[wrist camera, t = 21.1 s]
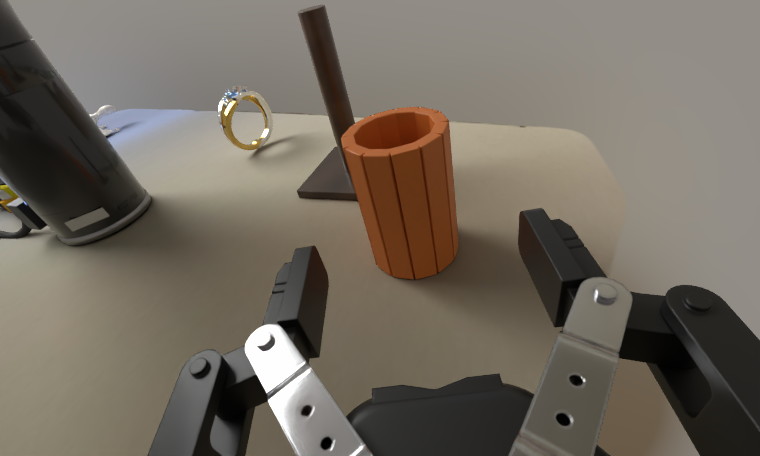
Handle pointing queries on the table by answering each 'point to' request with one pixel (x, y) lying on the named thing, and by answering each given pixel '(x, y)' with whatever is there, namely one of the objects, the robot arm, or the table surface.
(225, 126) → the ring
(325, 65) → the brown peg stand
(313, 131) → the table surface
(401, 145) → the orange stave barrel
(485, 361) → the table surface
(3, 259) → the table surface
